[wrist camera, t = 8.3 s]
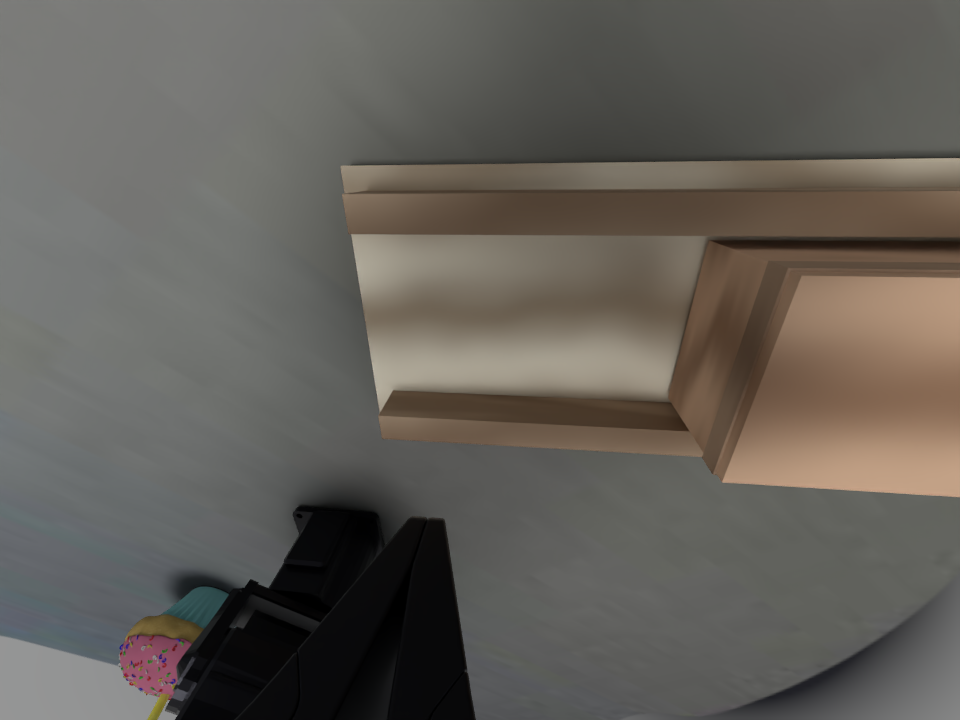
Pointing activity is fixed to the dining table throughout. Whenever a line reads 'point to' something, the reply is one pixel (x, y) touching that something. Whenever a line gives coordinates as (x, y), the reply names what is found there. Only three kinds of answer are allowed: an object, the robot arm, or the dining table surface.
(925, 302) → the crate
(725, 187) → the bay
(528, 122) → the dining table surface
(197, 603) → the cupcake
